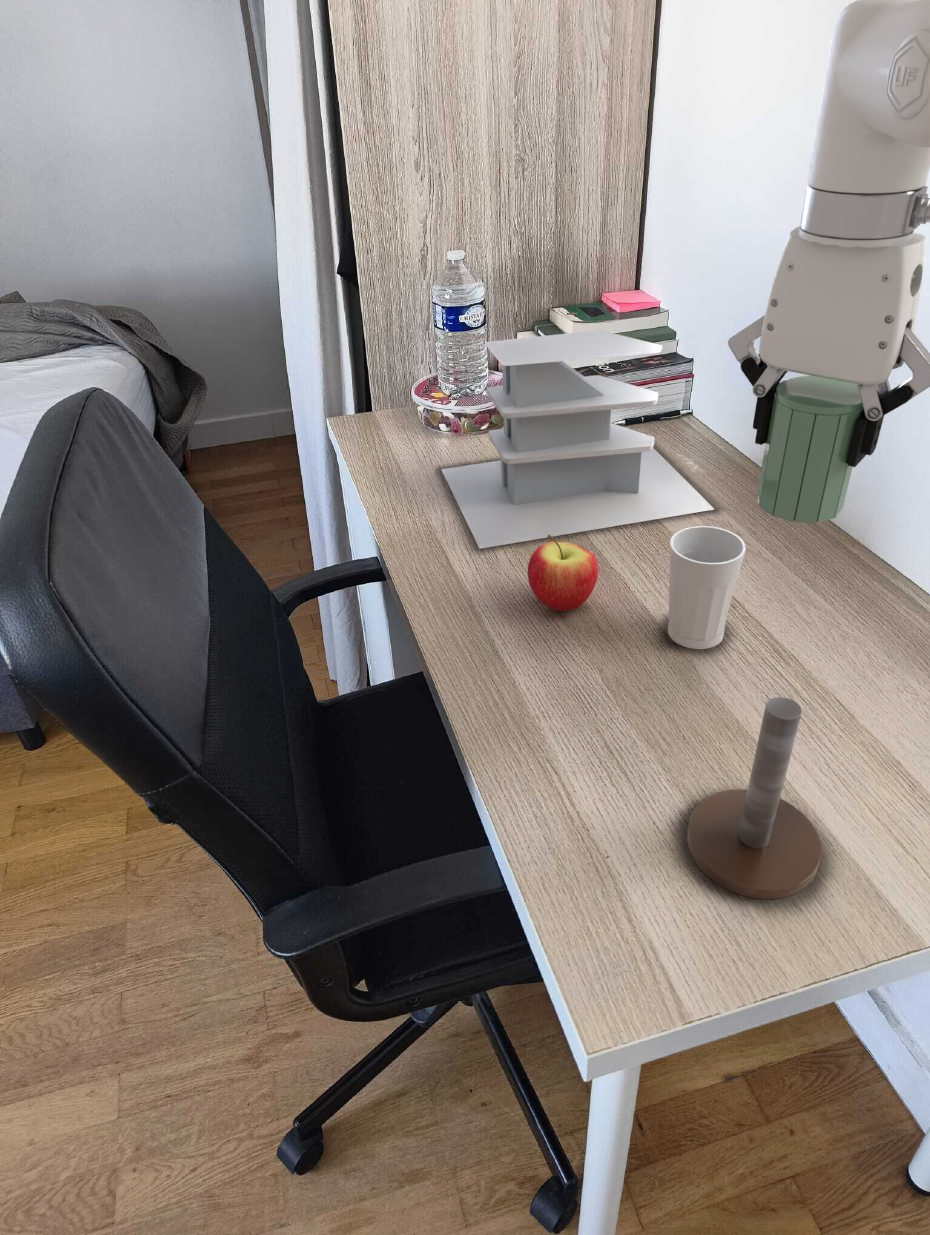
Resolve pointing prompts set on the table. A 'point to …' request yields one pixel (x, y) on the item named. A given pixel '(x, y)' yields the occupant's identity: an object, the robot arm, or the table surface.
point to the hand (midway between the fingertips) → (810, 447)
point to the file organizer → (566, 448)
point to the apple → (562, 575)
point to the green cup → (808, 449)
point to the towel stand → (758, 821)
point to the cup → (702, 584)
